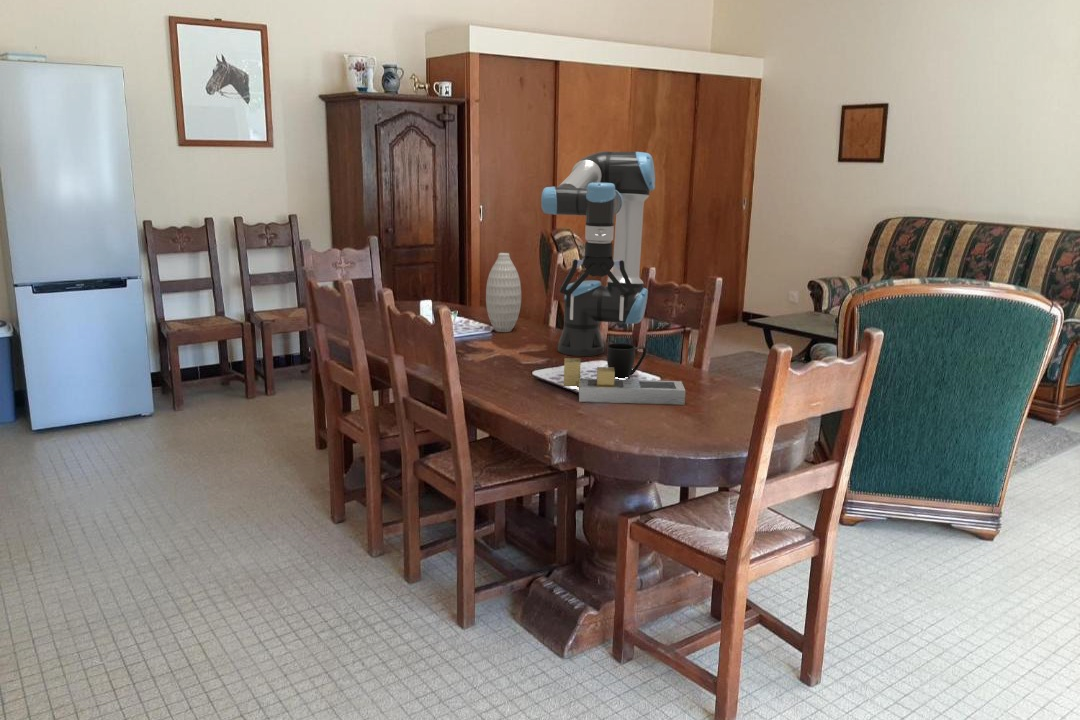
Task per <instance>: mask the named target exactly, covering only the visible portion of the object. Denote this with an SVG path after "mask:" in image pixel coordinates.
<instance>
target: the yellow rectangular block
mask: <svg viewBox="0 0 1080 720" xmlns="http://www.w3.org/2000/svg"><path fill="white" fill-rule="evenodd" d="M563 360H564V363H563V364H564V367H563V387H564V386H577V387H579V378H581V366H582V363H581V361H582V359H581V358H580V357H579V358H574V357H572V358H571V357H570V358H569V357H564V359H563Z"/></svg>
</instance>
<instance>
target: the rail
mask: <svg viewBox="0 0 1080 720" xmlns="http://www.w3.org/2000/svg"><path fill="white" fill-rule="evenodd" d="M686 392H687V391H686V389H685V387H684V384H683V381H681V380H652V379H651V380H648V379H647V380H645V379H626V380H619V379H614V387H597V378H581V377H580V378H579V390H578V402H579V403H580V402H581V403H605V404H606V403H607V404H608V403H610V404H611V403H613V404H615V403H616V404H642V405H643V404H644V405H678V406H679V405H680V406H684V405H685V403H686Z"/></svg>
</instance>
